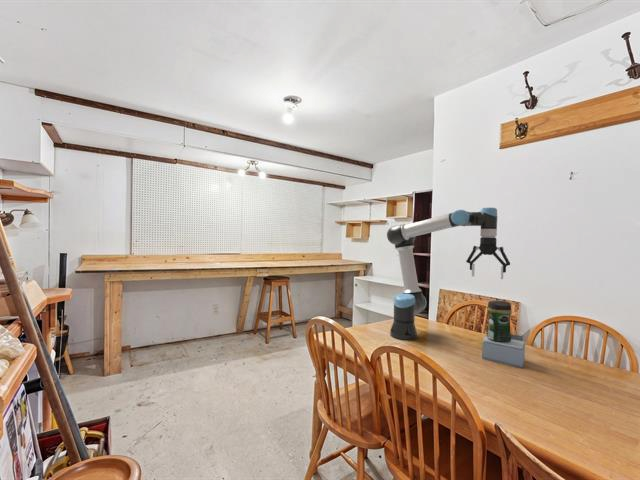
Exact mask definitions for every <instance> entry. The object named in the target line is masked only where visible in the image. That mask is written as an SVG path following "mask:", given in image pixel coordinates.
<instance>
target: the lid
mask: <svg viewBox="0 0 640 480" xmlns="http://www.w3.org/2000/svg"><path fill="white" fill-rule="evenodd" d="M523 338H524V335H519V334H514V333H511V341H510V342H496V341H493V340H490V339H488V337H487V334H486V335H485V336H484V338H483V340H482V342H483V341H484V342H489V343H494V344H499V345H504V346H508V347H513V348H518V349H523V346H524V343H525V340H524V339H523ZM525 344H526V343H525Z"/></svg>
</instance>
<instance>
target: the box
mask: <svg viewBox="0 0 640 480" xmlns="http://www.w3.org/2000/svg"><path fill="white" fill-rule="evenodd" d="M481 348H482V349H481V352H482V353H481V359H482V360H485V361H490V362H493V363H498V364H503V365H507V366H511V367H515V368H518V369H519V368H520V369H523V367H524V363H525V359H526V343H524V346H523V349H518V348H513V347H508V346H504V345H499V344H494V343H489V342H484V341H483V340H482V347H481Z"/></svg>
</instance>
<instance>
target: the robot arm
mask: <svg viewBox="0 0 640 480" xmlns="http://www.w3.org/2000/svg"><path fill="white" fill-rule="evenodd" d="M457 227H480V231H479V232H480V238H479V239H480V240H479V246H476V245H473V247H472V251H471V253H470V254H469V256H468V258H467V259H466V260H465V261H466V263H468V264H469V270H470V271H471V277H475V270H476V269H475V265H476V264H475V262H476V261H477V260H478V259H479V258H480V257H481V256H482V255H485V256H487V255H488V256H494V258H495V259H496V261H498V262H499V263H500V264H501V266H500V279H501V280H503V279H504V274H505V273H506V272H507V267H508V266H511V262H510V260H509V258H508V256H507V255H506V253H505V251H504V247H503V246H498V247H497V238H496V237H497V235H498V233H497V232H498V229H497V228H498V209H497V208H496V207H482V208H481V210H480V211H466V210H464V209H456V210H455V211H453V212H451V213H446V214H442V215H439V216H435V217H431V218H427V219H423V220H420V221H416V222H412V223H409V224H405V223H403V224H396V225H393V226H391V227H390V228H388V230H387V232H386V238H387V240H388V242H389V243H390V244H392V245H394V248H395V250H396V251H398V252H397V253H398V258H399V262H400V263H399V265H400V269H401V277H402V282H403V288H404V289H403V291H402V293H398V294H396V295H395V296H394V299H393V300H394V301H393V322H392V325H391V327H390V332H389V335H390V336H391V337H392V338H393V339H394V338H395V339H398V340H402V341H403V340H405V341H412V340H416V339H418V331H417V328H416V324H415V320H416V319H415V317H416V316H415V315H417V314H419V313H422V312H423V311H424V310H425V309H426V307H427V299H426V297H425V295H424V294H423V290H422V289H421V288H420V287H419V281H418V275H417V271H416V263H415V258H414V252H413V249H414V248H415V240H416V237H417V236H422V235H427V234H430V233H431V234H432V233H435V232H440V231H443V230H447V229H451V228H457ZM478 250H479V253H478V254H477V255H476V256H474V255H475V253H476V251H478ZM497 251H499V252H500V254H501V256H502V258H503V259H504V260H503V259H502V258H501V257H500V256H499V255H498V253H496V252H497ZM473 257H474V258H473ZM472 258H473V259H472ZM504 261H505V262H504Z"/></svg>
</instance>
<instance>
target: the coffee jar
mask: <svg viewBox="0 0 640 480" xmlns="http://www.w3.org/2000/svg"><path fill="white" fill-rule="evenodd" d="M487 311H488V325H487V330H486V331H487V332H486V335H487V337H488V339H490V340H493V341H496V342H510V341H511V334H512V332H511V331H512V330H511V321H510V320H511V313H512V304H511V303H510V302H508V301H505V300H489V301H488V304H487Z"/></svg>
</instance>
